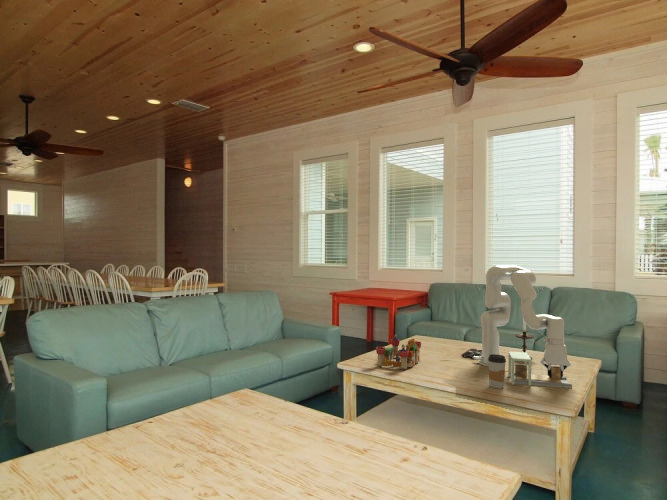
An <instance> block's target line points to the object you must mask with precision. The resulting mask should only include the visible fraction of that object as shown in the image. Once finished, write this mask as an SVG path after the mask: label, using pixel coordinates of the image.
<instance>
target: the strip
mask: <svg viewBox="0 0 667 500" xmlns="http://www.w3.org/2000/svg"><path fill="white" fill-rule="evenodd" d="M560 375H561V368H560V366H559V365H551V378H550V377H549V376H548V374H537V373H536V374H534V373H531V380H532V381H544V382H556V383H562V381H561V380H560ZM516 378H517V379H520V380H528V373H527V378H526V377H516Z"/></svg>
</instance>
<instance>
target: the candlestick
mask: <svg viewBox="0 0 667 500" xmlns="http://www.w3.org/2000/svg"><path fill="white" fill-rule="evenodd" d="M521 332H522V333H515V334H514V337H515V338H517V339H522V344H523V345H521V348H522V350H521V352H526V353H527V348H528V346H527V344H526V341H527V340H533V339H535V335H534V334H529V333H527V332H528V330H527V324H526V322H525V320H524V318H523V317H522V330H521ZM529 357H530V358H531V361H533V357H532V356H530V355H529Z"/></svg>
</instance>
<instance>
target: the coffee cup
mask: <svg viewBox="0 0 667 500" xmlns="http://www.w3.org/2000/svg"><path fill="white" fill-rule="evenodd" d="M488 361H489V366H488V376H489V377H488V378H489V385H490V387H491V388H494V389H504V386H505V376H506V362H507V359H506V356H505V355H502V354H499V355H497V354H492V355H489V357H488Z"/></svg>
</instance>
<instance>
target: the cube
mask: <svg viewBox="0 0 667 500" xmlns="http://www.w3.org/2000/svg"><path fill="white" fill-rule="evenodd" d="M514 373H515V375H516V377H526V378H527V374H528V366H527V367H526V365H524V364H518V363H517V364H516V363H514Z"/></svg>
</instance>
